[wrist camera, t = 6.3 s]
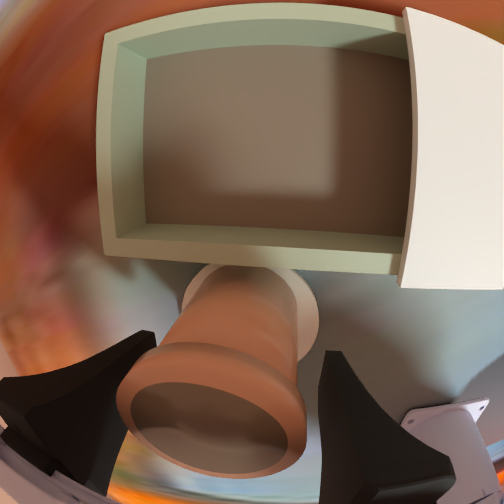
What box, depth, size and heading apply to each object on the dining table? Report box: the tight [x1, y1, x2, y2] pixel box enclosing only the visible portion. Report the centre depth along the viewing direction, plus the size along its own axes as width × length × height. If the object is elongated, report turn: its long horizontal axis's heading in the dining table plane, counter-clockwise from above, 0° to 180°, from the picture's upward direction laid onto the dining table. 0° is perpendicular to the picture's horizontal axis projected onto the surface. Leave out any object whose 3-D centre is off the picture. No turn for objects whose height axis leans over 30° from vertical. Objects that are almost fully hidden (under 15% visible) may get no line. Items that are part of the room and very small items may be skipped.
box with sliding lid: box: [96, 3, 504, 289], centre depth 10 cm, size 11×18×4 cm, turn 89°
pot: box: [116, 265, 307, 479], centre depth 10 cm, size 6×6×8 cm
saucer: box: [182, 264, 319, 362], centre depth 14 cm, size 7×7×1 cm
